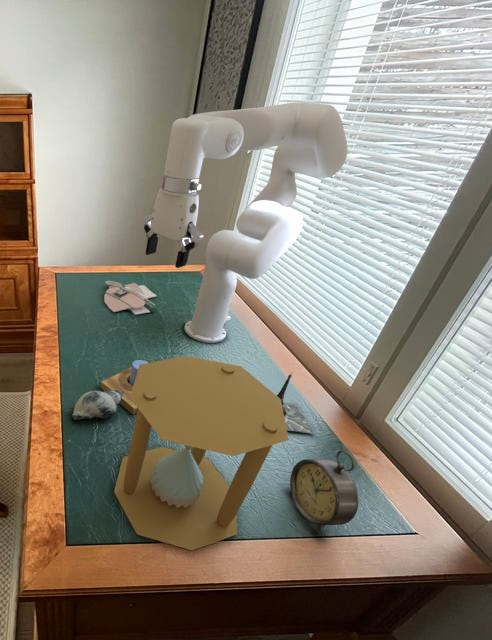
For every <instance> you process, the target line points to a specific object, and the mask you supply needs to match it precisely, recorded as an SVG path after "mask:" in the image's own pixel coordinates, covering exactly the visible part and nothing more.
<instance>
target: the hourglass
mask: <svg viewBox="0 0 492 640" xmlns="http://www.w3.org/2000/svg"><path fill="white" fill-rule="evenodd" d="M130 398H131V399H132V401H133V402H134V403H135V405H136V406H137V407H138V413H136V418H135V422H134V427H133V432H132V436H131V440H130V445H129V450H128V455H126V456H123V457H122V460H121V462H120V463H121V464H120V466H119V467H120V468H119V470H118V475H117V479H116V483H115V486H114V491H113V493H114V495H115V496H116V498H117V500H118V502H119V505H120V507H122V510H123V511H124V514H125V515H126V518H127V519H128V521H129V523H130V524H131V526H132V528H133V530H134V532H135V533H136V535H138V536H141V537H145V538H148V539H151V540H154V541H158V542H161V543H165V544H168V545H172V546H176V547H179V548H182V549H186V550H189V551H194V550H197V549H200V548H203V547H205V546H208V545H212V544H214V543H217V542H220V541H223V540H225V539H228V538H231V537H234V536H236V535H238V517H237V514H238V512H239V511H240V508H241V507H242V505H243V504H244V501H245V499H246V498H247V496H248V494H249V493H250V490H251V488H252V487H253V485H254V483H255V481H256V479H257V477H258V475H259V473H260V472H261V469H262V467H263V466H264V463H265V461H266V460H267V457H268V455H269V453H270V451H271V449H272V447H273V446H275V445H277V444H281V443H285V442H287V441H289V440H290V439H289V434H288V431H287V428H286V423H285V418H284V413H283V408H282V403H281V399H280V398H279V397H277V394H276V393H274V391H272V390H270V389H269V388H268V387H267V386H266V385H264V384H263V383H262V382H261V381H260V380H258V379H257V378H255V376H254V375H252V374H251V373H250V372H249V371H247V370H246V369H245V368H244V367H243V366H241V365H237V364H233V363H232V364H231V363H226V362H221V361H217V360H210V359H205V358H201V357H200V358H198V357H194V356H190V355H189V356H188V355H183V356H178V357H173V358H167V359H161V360H158V361H152V362H148V363H146V364H141V365H139V368H138V372H137V375H136V379H135V382H134V386H133V389H132V393H131V396H130ZM152 429H153V430H154V431H155V433H156V435H157V436H158V437H159V438H160V440H163V441H167V442H171V443H175V444H179V445H183V446H184V448H183V449H180V450H177V449H173V448H169V447H166V446H159V447H155V448H152V449H148V444H149V440H150V436H151V432H152ZM147 449H148V450H147ZM207 451H209V452H214V453H218V454H221V455H226V456H231V457H235V456H239V455H242V454H243V455H244V456H243V458H242V460H241V462H240V464H239V466H238V468H237V470H236V472H235V474H234V476H233V478H232V480H231V482H230V484H229V482H228V481H227V480H226V479H225V477H224V476H223V475H222V474H221V473H220V471H219V470H218V469H217V468H216V467H215V466H214V464H213V463H212V462H211V461H210V460H209V458H208V457H206V456H205V455H206V452H207Z"/></svg>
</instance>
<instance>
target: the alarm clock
mask: <svg viewBox="0 0 492 640" xmlns="http://www.w3.org/2000/svg"><path fill="white" fill-rule="evenodd" d="M341 453H345V454H346V455H347V456H348V457H349V459H350V461H351V467H350V468H349V469H346V468H345V465H344V464H343V463H341V462H340V460H339V456H340V454H341ZM354 468H355V460H354V458H353V455H351V453H350V452H348V451H347V450H345V449H342V450H339V451H337V452H336V461H334V460H331V459H326V458H314V459H313V458H312V459H311V458H310V459H309V458H305V459H301V460H300V461H298V462H297V463H296V464H295V465H294V466H293V468H292V470H291V473H290V479H289V484H290V485H289V486H290V490H289V494H291V497H292V500H293V503H294V504H295V507H296V508H297V510H298V511H299V513H300V514H301V515H302V516H303V517H304V518H305V519H306V520H307V521H308V522H309V523H311V524H313V525H316V530H317V532H316V535H317V536H318V537H320V536H322V528H323V527H324V526H342V525H345V524H348V523H349V522H351V521H352V520H353V519H354V518H355V517H356V515H357V512H358V510H359V509H358V508H359V503H360V502H359V493H358V489H357V486H356V483H355V481H354V479H353V478H352V476H351V475H350V473H349V472H351V471H353V470H354Z"/></svg>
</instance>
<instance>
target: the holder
mask: <svg viewBox="0 0 492 640" xmlns="http://www.w3.org/2000/svg"><path fill="white" fill-rule="evenodd" d="M145 361H146V362H147V363H149V362H148V361H147V360H145ZM131 369H132V366H131V367H129V368H126V369H124V370H122V371H120V372H118V373H116V374H114V375H112V376H110V377H108V378H105V379H103V380H102V381H100V389H102V390H103V392H104V391H108V390H109V391H114V390H118V391H119V390H123V391H124V393H123V396H122V398H121V401H120V403H119V404H120V405H121V406H122V407H123V408H125V409H126V410H127V411H128V412H129V413H131V414H132V415H133V416H134V415H137V413H138V407H137V406H136V405H135V403H134V402H133V401H132V399H131V398H130V396H131V393H132V389H133V386H131V385H130V384H129V381H130V375H131Z"/></svg>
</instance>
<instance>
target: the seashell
mask: <svg viewBox="0 0 492 640" xmlns="http://www.w3.org/2000/svg"><path fill="white" fill-rule="evenodd" d="M123 393H124V391H123V390H119V391H118V390H114V391H109V390H108V391H104V390H103V391H101V390H100V391H99V390H92V391H91V390H90V391H87V392H85V393H84V394H82V395H81V396H80V398H79V399H78V400H77V402H75V404H74V406H73V413H72V414H71V417H72V419H74V421H75V420H76V421H79V420H81V419H85V420H90V419H93V418H100V419H110V418H112V417H113V416H115V414H116V412H117V409H118V405H119V404H120V401H121V398H122V396H123Z"/></svg>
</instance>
